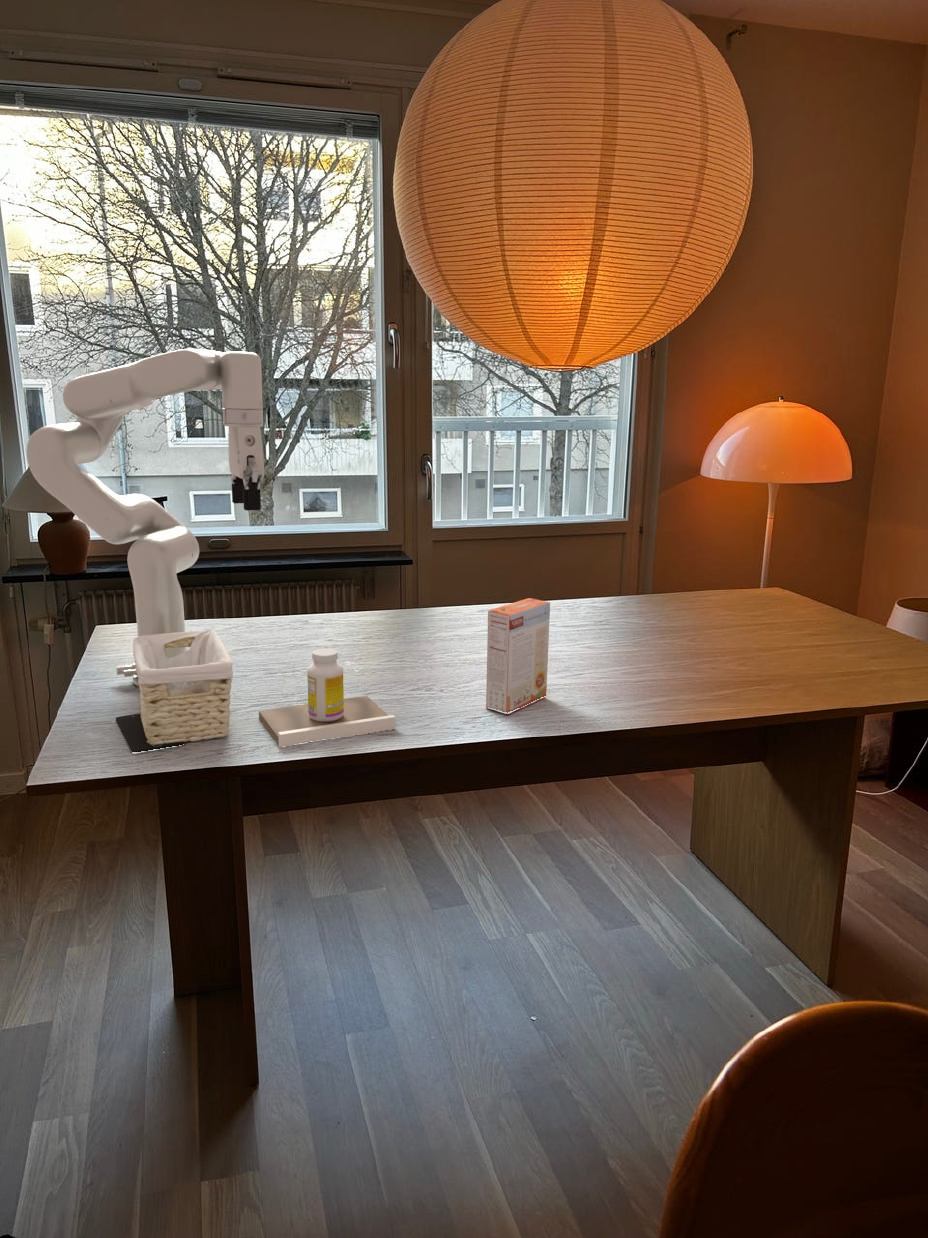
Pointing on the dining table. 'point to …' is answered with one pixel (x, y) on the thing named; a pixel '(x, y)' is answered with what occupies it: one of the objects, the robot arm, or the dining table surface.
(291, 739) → the rail
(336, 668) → the supplement bottle
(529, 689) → the cracker box
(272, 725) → the shelf board
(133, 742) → the cell phone
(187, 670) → the storage basket
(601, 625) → the dining table surface
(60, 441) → the robot arm
